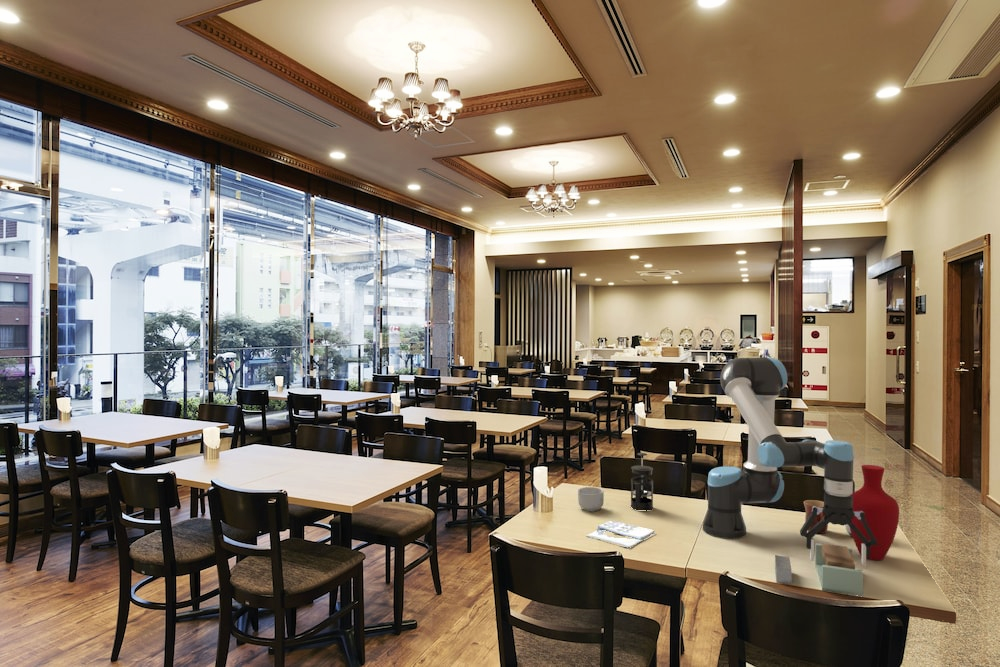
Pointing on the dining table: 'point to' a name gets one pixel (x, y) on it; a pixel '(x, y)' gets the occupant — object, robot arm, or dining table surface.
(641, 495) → the french press
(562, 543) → the dining table surface
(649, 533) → the folded cloth napkin
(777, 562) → the block
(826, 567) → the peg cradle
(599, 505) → the teacup
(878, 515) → the vase
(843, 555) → the board
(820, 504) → the mug
